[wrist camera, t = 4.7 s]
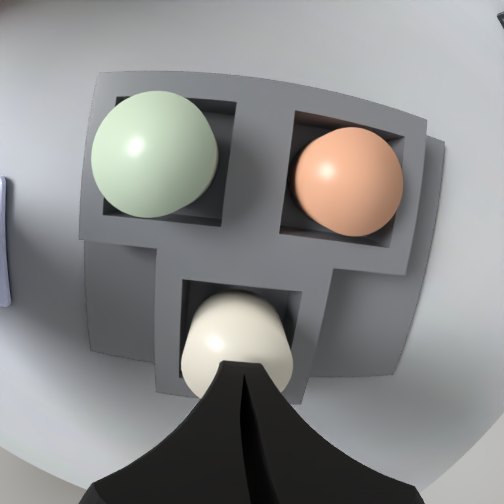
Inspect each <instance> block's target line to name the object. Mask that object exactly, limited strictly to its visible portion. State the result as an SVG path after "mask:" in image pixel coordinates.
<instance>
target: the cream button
mask: <svg viewBox="0 0 504 504" xmlns="http://www.w3.org/2000/svg"><path fill="white" fill-rule="evenodd" d="M223 360H227V361H238V362H250V363H261V364H262V365H263V366H264V368H265V370H266V371H267V373H268V375H269V376H270V378H271V379H272V381H273V382H274V384H275V385H276V387H277V388H278V390H279V391H280V392H282V391H283V390H284V389H285V387H286V386H287V384H288V383H289V380H290V378H291V375H292V371H293V359H292V354H291V351H290V348H289V345H288V342H287V338H286V335H285V332H284V329H283V326H282V323H281V320H280V317H279V314H278V312H277V310H276V309H275V308H274V306H273V305H272V304H271V303H270V302H269V301H268V300H267V299H265V298H264V297H262V296H261V295H259V294H257V293H254V292H251V291H248V290H242V289H231V290H225V291H221V292H218V293H216V294H214V295H212V296H210V297H209V298H207V299H206V300H205V301H204V302H202V303H201V305H200V306H199V307H198V309H197V310H196V312H195V314H194V316H193V319H192V323H191V326H190V330H189V333H188V337H187V340H186V344H185V348H184V351H183V355H182V360H181V370H182V374H183V377H184V380H185V382H186V384H187V385H188V387H189V388H190V389H191V391H192V392H193V393H194V394H195V395H196V396H198V397H199V398H200V399H201V398H202V397H203V395H204V394H205V392H206V391H207V389H208V387H209V386H210V384H211V382H212V381H213V379H214V377H215V375H216V372H217V370H218V367H219V363H220V362H221V361H223Z"/></svg>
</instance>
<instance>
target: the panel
mask: <svg viewBox="0 0 504 504" xmlns="http://www.w3.org/2000/svg"><path fill="white" fill-rule="evenodd" d="M148 91H166V92H171V93H175V94H177V95H180V96H182V97H184V98H186V99H187V100H189V101H190V102H192V103H193V104H194V105H195V106H196V107H197V108H198V109H199V110H200V111H201V112H202V114H203V115H204V116H205V118H206V120H207V122H208V124H209V126H210V128H211V130H212V132H213V134H214V136H215V139H216V141H217V144H218V149H219V165H218V170H217V173H216V176H215V178H214V180H213V182H212V184H211V185H210V187H209V188H208V189H207V191H206V192H205V193H204V194H203V195H202V196H201V197H200V198H198V199H197V200H195V201H194V202H192V203H190V204H188V205H186V206H184V207H182V208H181V209H179V210H177V211H175V212H173V213H170V214H167V215H164V216H160V217H152V218H144V217H137V216H133V215H129V214H127V213H125V212H122V211H120V210H119V209H117V208H116V207H114V206H113V205H112V204H111V203H110V202H108V200H107V199H106V198H105V197H104V196H103V194H102V193H101V191H100V190H99V188H98V186H97V184H96V182H95V179H94V176H93V171H92V164H91V154H92V146H93V142H94V138H95V135H96V133H97V131H98V128H99V126H100V125H101V123H102V121H103V120H104V119H105V117H106V116H107V115H108V114H109V112H110V111H111V110H112V109H113V108H114V107H116V106H117V105H118V104H119V103H121V102H122V101H124V100H126V99H127V98H129V97H132V96H134V95H136V94H140V93H143V92H148ZM347 127H356V128H362V129H365V130H368V131H371V132H373V133H375V134H376V135H378V136H379V137H381V138H382V139H383V140H384V141H386V142H387V144H388V145H389V146H390V147H391V148H392V150H393V151H394V153H395V154H396V156H397V158H398V161H399V163H400V166H401V170H402V175H403V192H402V197H401V201H400V204H399V206H398V208H397V210H396V212H395V214H394V215H393V217H392V218H391V219H390V220H389V221H388V222H387V223H386V224H385V225H384V226H383V227H382V228H380V229H379V230H377V231H375V232H373V233H370V234H367V235H363V236H346V235H342V234H339V233H336V232H334V231H332V230H330V229H328V228H327V227H325V226H323V225H321V224H319V223H317V222H315V221H314V220H312V219H310V218H308V217H307V216H306V215H304V214H303V213H302V212H301V211H300V209H299V208H298V207H297V206H296V204H295V202H294V200H293V198H292V196H291V193H290V189H289V171H290V167H291V164H292V161H293V159H294V157H295V156H296V154H297V153H298V152H299V151H300V149H301V148H303V147H304V146H305V145H306V144H308V143H309V142H311V141H313V140H315V139H317V138H319V137H321V136H324V135H326V134H328V133H330V132H332V131H334V130H337V129H341V128H347ZM426 130H427V120H426V119H423V118H421V117H418V116H415V115H412V114H409V113H406V112H403V111H400V110H397V109H394V108H391V107H388V106H385V105H381V104H378V103H375V102H371V101H368V100H364V99H360V98H357V97H353V96H349V95H345V94H341V93H337V92H332V91H328V90H323V89H319V88H314V87H309V86H304V85H299V84H293V83H288V82H282V81H275V80H269V79H262V78H254V77H246V76H238V75H228V74H216V73H203V72H183V71H125V72H106V73H98V76H97V80H96V85H95V90H94V95H93V100H92V105H91V111H90V117H89V123H88V129H87V136H86V144H85V152H84V160H83V170H82V182H81V196H80V215H79V240H84V264H85V293H86V309H87V321H88V332H89V341H90V350H91V351H94V352H98V353H103V354H108V355H113V356H118V357H123V358H128V359H134V360H139V361H145V362H151V363H155V379H156V392H158V393H164V394H170V395H177V396H185V397H192V398H199V397H198V396H196V395H195V394H194V393H193V392H192V391H191V389H190V388H189V387H188V385H187V384H186V382H185V380H184V377H183V374H182V370H181V360H182V355H183V351H184V348H185V344H186V340H187V337H188V333H189V330H190V326H191V323H192V319H193V316H194V314H195V312H196V310H197V309H198V307H199V306H200V305H201V303H202V302H204V301H205V300H206V299H207V298H209V297H210V296H212V295H214V294H216V293H218V292H221V291H225V290H231V289H242V290H248V291H251V292H254V293H257V294H259V295H261V296H262V297H264V298H265V299H267V300H268V301H269V302H270V303H271V304H272V305H273V306H274V308H275V309H276V310H277V312H278V314H279V317H280V320H281V323H282V326H283V329H284V332H285V335H286V338H287V342H288V345H289V348H290V351H291V354H292V359H293V371H292V375H291V378H290V380H289V383H288V384H287V386H286V387H285V389H284V390H283V391H282V392H281V394H282V395H283V396H284V397H285V399H286V400H287V401H288V403H289V404H301V402H302V399H303V395H304V392H305V388H306V385H307V381H308V377H360V376H384V375H393V374H394V371H395V368H396V366H397V363H398V360H399V358H400V355H401V352H402V349H403V346H404V343H405V340H406V337H407V334H408V331H409V328H410V325H411V321H412V318H413V315H414V311H415V308H416V304H417V301H418V297H419V293H420V290H421V286H422V282H423V278H424V274H425V270H426V265H427V261H428V256H429V252H430V247H431V242H432V237H433V231H434V226H435V220H436V214H437V208H438V201H439V194H440V186H441V177H442V168H443V157H444V144H445V142H444V141H441V140H438V139H436V138H433V137H430V136H427V135H426Z"/></svg>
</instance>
